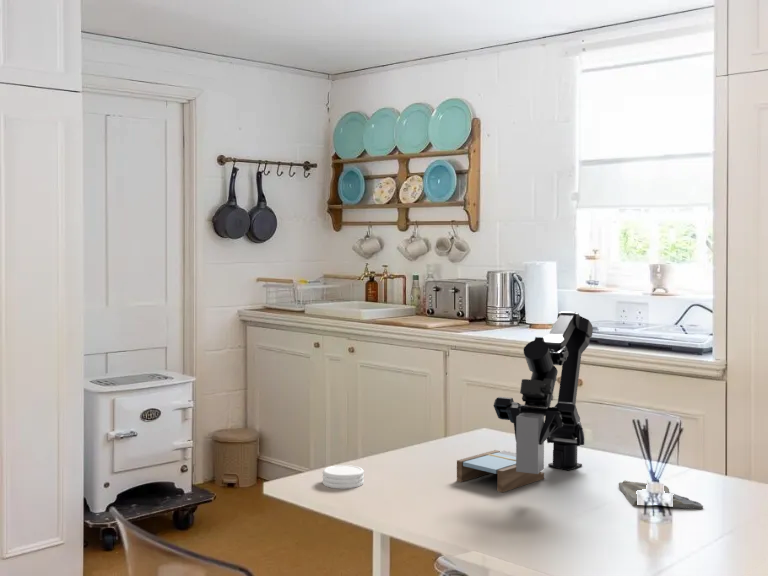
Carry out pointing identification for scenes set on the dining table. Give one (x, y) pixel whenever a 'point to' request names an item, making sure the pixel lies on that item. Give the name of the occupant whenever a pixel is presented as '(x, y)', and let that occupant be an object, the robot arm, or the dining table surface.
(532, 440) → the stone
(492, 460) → the trapdoor
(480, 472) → the hatch frame
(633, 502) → the fossil rock
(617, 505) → the dining table surface
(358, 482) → the coaster
